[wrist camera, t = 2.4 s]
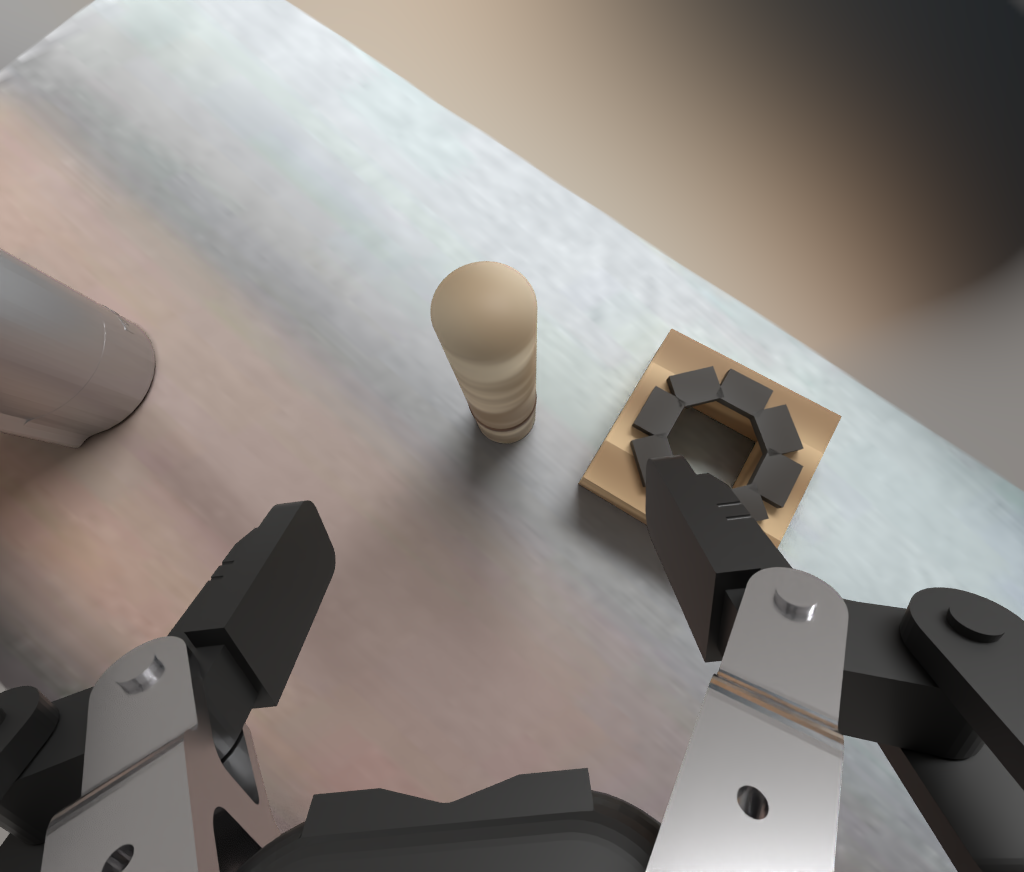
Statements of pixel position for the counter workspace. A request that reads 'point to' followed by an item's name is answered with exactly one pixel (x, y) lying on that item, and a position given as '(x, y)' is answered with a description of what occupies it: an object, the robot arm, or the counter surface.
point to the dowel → (491, 344)
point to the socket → (731, 401)
